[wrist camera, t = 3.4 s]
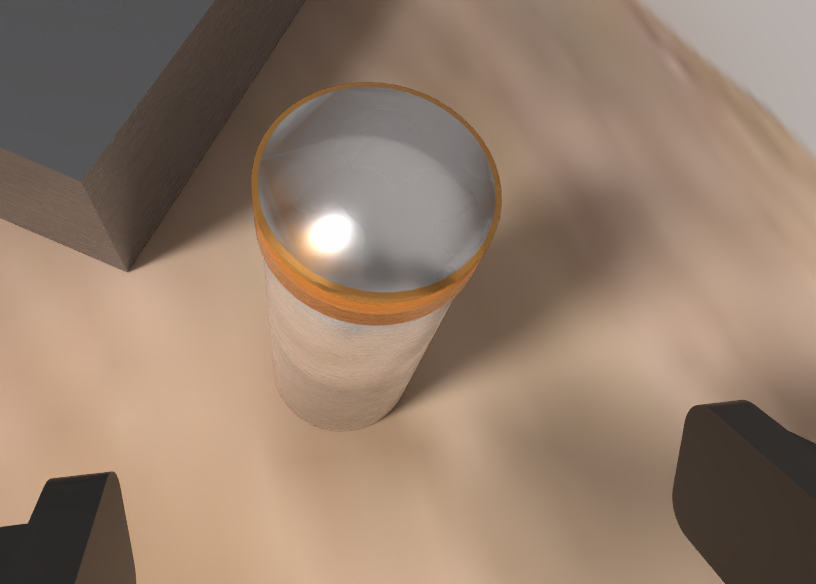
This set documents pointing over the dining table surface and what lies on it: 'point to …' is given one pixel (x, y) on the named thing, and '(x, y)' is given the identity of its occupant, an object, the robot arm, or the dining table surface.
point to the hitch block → (118, 108)
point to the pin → (365, 241)
